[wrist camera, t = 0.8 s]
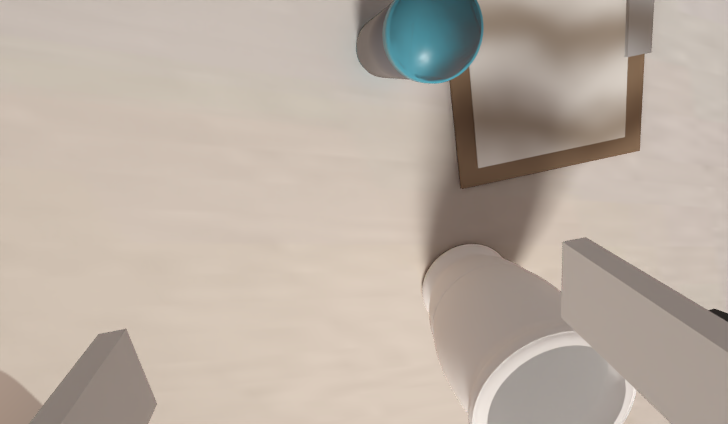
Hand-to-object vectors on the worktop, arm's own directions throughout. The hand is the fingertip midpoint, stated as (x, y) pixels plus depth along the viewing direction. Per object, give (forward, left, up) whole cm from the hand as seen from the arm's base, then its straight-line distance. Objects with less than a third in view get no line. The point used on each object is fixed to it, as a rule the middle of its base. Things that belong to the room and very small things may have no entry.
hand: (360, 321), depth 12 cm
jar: (+14, +10, -22) cm, 28 cm away
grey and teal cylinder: (-8, +6, -22) cm, 24 cm away
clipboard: (-7, +19, -22) cm, 30 cm away
